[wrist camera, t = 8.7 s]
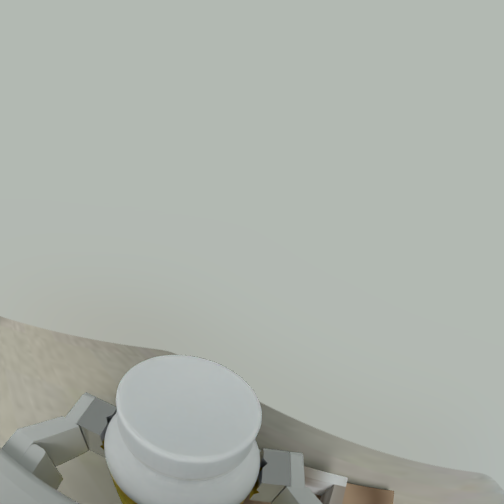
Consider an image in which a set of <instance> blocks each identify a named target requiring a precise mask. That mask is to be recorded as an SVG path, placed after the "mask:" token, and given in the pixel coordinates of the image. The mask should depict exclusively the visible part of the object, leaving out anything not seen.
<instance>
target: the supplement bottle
mask: <svg viewBox="0 0 504 504" xmlns="http://www.w3.org/2000/svg"><path fill="white" fill-rule="evenodd" d="M116 409H117V412H116V414H115V415H114V416H113V418H112V419H111V421H110V423H109V425H108V427H107V430H106V433H105V438H104V451H105V457H106V462H107V465H108V468H109V471H110V474H111V477H112V479H113V482H114V485H115V487H116V490H117V492H118V494H119V497H120V499H121V501H122V503H123V504H242V503H243V502H244V500H245V499H246V498H247V496H248V495H249V494H250V492H251V490H252V489H253V487H254V485H255V483H256V481H257V478H258V475H259V470H260V453H259V449H258V445H257V442H256V440H255V438H256V436H257V434H258V432H259V429H260V426H261V422H262V410H261V406H260V402H259V400H258V398H257V396H256V394H255V392H254V391H253V389H252V388H251V387H250V386H249V384H248V383H247V382H246V381H245V380H244V379H243V378H242V377H240V376H239V375H238V374H236V373H235V372H233V371H232V370H230V369H228V368H227V367H225V366H223V365H221V364H218V363H216V362H213V361H210V360H207V359H204V358H199V357H195V356H187V355H164V356H158V357H153V358H150V359H147V360H145V361H142V362H140V363H138V364H137V365H135V366H134V367H132V368H131V369H130V370H129V371H128V372H127V373H126V374H125V375H124V376H123V378H122V380H121V381H120V383H119V386H118V389H117V394H116Z"/></svg>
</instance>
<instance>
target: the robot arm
mask: <svg viewBox="0 0 504 504" xmlns="http://www.w3.org/2000/svg"><path fill="white" fill-rule="evenodd" d="M116 412H117V409H116V406H114V405H112V404H109V403H107V402H105V401H103V400H101V399H99V398H97V397H95V396H93V395H91V394H89V393H87V392H86V393H85V394H83V395H82V396H81V397H80V399H79V400H78V401H77V403H76V404H75V405H74V406H73V408H72V409H71V410H70V412H69V413H68V414H67V416H66V417H63V416H61V417H58V418H54V419H51V420H48V421H45V422H41V423H38V424H34V425H31V426H27V427H23V428H19V429H17V430H16V431H15V433H14V434H13V435H12V436H11V437H10V439H9V440H8V441H7V442H6V444H5V445H4V446H3V447H2V448H0V504H79V503H78V502H76V501H74V500H72V499H71V498H69V497H67V496H65V495H64V494H62V493H60V492H59V491H57V488H58V487H59V485H60V483H61V481H62V480H63V478H62V475H61V474H60V473H59V471H58V470H57V468H56V466H58V465H60V464H62V463H65V462H67V461H69V460H71V459H73V458H75V457H77V456H79V455H81V454H83V453H85V452H87V451H89V450H90V451H92V452H95V453H97V454H99V455H101V456H103V457H105V451H104V438H105V433H106V430H107V427H108V425H109V423H110V421H111V419H112V418H113V416H114V415H115V414H116ZM105 458H106V457H105ZM250 500H255V501H262V502H271V504H322V503H321V501H320V500H319V499H318V498H317V497H316V496H315V494H314V493H313V492H312V491H311V490H310V488H309V487H305V476H304V459H303V454H302V453H301V452H289V451H282V450H273V449H265V448H263V449H262V450H261V451H260V470H259V475H258V478H257V481H256V483H255V485H254V487H253V489H252V490H251V492H250Z"/></svg>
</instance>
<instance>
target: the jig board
mask: <svg viewBox="0 0 504 504" xmlns="http://www.w3.org/2000/svg"><path fill="white" fill-rule="evenodd" d="M260 451H261V450H259V453H260ZM304 476H305V487H309V488H310V490H311V491H312V492H313V493H314V494H315V496H316V497H317V498H318V499H319V500H320V501H321V503H322V504H393V497H394V491H390V490H383V489H376V488H370V487H365V486H359V485H354V484H349V483H347V480H348V477H343V476H339V475H335V474H331V473H327V472H324V471H320V470H317V469H313V468H310V467H307V466H304ZM242 504H271V502H262V501H255V500H250V494H249V495H248V496H247V498H246V499H245V500H244V502H243V503H242Z"/></svg>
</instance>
